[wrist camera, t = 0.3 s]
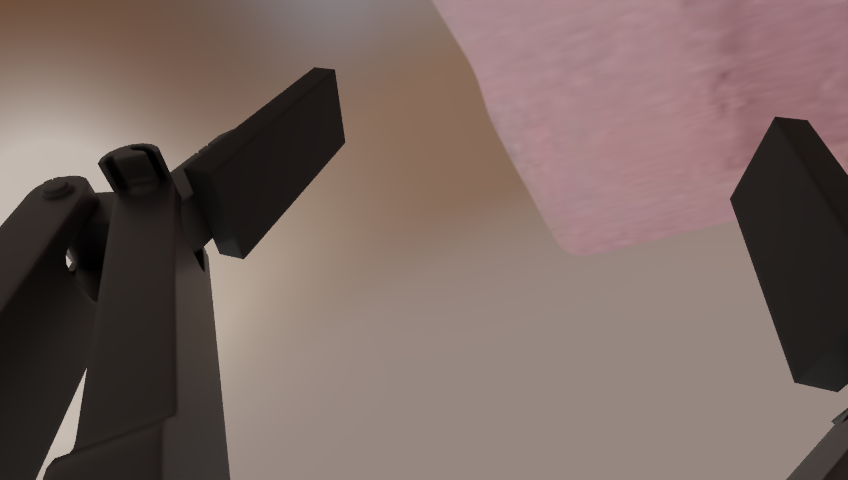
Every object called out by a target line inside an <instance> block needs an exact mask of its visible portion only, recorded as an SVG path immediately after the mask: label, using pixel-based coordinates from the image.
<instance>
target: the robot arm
mask: <svg viewBox="0 0 848 480" xmlns="http://www.w3.org/2000/svg"><path fill="white" fill-rule="evenodd" d="M344 143H345V138H344V130H343V123H342V117H341V109H340V103H339V95H338V89H337V81H336V75H335V70H334V69H324V68H315V67H314V68H313V69H312V70H310V71H309V72H308V73H307V74H305V75H304V76H303V77H301V78H300V79H299V80H297V81H296V82H295V83H293V84H292V85H291V86H290V87H288V88H287V89H286V90H284V91H283V92H282V93H281V94H279V95H278V96H277V97H275V98H274V99H273V100H271V101H270V102H269V103H268V104H266V105H265V106H264V107H262V108H261V109H260V110H258V111H257V112H256V113H255V114H253V115H252V116H251V117H249V118H248V119H247V120H245V121H244V122H243V123H242V124H240V125H239V126H238V127H237V128H235V129H233V130H230V131H228V132H226V133H223V134H221V135H219V136H218V137H217V138H215V139H214V140H213V141H211V142H210V143H209V144H208V146H205V147H203V148H202V149H201V150H199V153H195V154H194V155H193V156H191V157H190V158H189V159H187V160H186V161H185V162H184V163H182V164H181V165H180V166H178V167H177V168H176V169H174V170H173V171H172V172H169V170H168V168H167V165H166V163H165V161H164V159H163V157H162V155H161V153H160V150H159V148H158V147H157V146H154V145H152V144H143V143H142V144H132V145H128V146H124V147H121V148H118V149H116V150H113V151H111V152H109V153H108V154H106V155H105V156H103V157H102V158H101V159H100V161H99V163H98V165H99V167H100V168H101V170H102V172H103V174H104V175H105V177H106V179H107V181H108V182H109V184H110V186H111V187H112V189H113V191H114V192H103V193H95V192H94V190H93V189H92V187H91V185H90V184H89V182H88V181H87V179H86V178H84V177H81V176H67V177H57V178H54V179H53V180H52V179H50V180H48V181H46V182H44V183H43V184H42V185H40V186H38V187H36V188H35V189H33V190H32V191H31V192H30V193H29V194H28V195H27V196H26V197H25V198H24V200H23V201H22V202H21V203H20V205H19V206H18V207H17V208H16V209H15V210H14V211H13V213H12V214H11V215H10V216H9V217H8V218H7V220H6V221H5V222H4V223H3V224H2V225H1V227H0V480H36V478H37V476H38V473H39V471H40V469H41V467H42V465H43V462H44V460H45V458H46V456H47V454H48V451H49V449H50V447H51V445H52V443H53V440H54V438H55V436H56V434H57V432H58V429H59V427H60V425H61V423H62V421H63V419H64V416H65V414H66V412H67V410H68V407H69V405H70V403H71V401H72V399H73V396H74V394H75V392H76V390H77V387H78V386H79V383H80V381H81V379H82V376H83V375H84V372H85V370H86V368H87V372H86V378H85V384H84V391H83V398H82V404H81V411H80V417H79V423H78V429H77V436H76V441H75V445H74V448H73V450H72V451H71V452H70V453H69V454H66V455H63V456H61V457H58V458H55V459H54V460H53V461H52V462H51V464H50V465H49V466H48V467H47V469H46V472H45V475H44V477H43V480H230V473H229V463H228V453H227V443H226V434H225V433H226V432H225V422H224V412H223V402H222V392H221V381H220V371H219V362H218V351H217V341H216V331H215V321H214V310H213V300H212V291H211V279H210V270H209V259H208V255H207V253H206V250H205V248H204V246H205V245H206V244H207V243H208V242H209V241H210V240H211V239H212V238H213V239H214V242H215V244H216V246H217V248H218V251H219V253H220V254H223V255H227V256H231V257H237V258H241V259H244V258H245V257H246V256H247V255H248V254H249V253H250V252H251V250H252V249H253V248H254V247H255V246H256V245H257V244H258V242H259V241H260V240H261V239H262V238H263V237H264V235H265V234H266V233H267V232H268V231H269V230H270V229H271V227H272V226H273V225H274V224H275V223H276V222H277V221H278V219H279V218H280V217H281V216H282V215H283V214H284V212H285V211H286V210H287V209H288V208H289V207H290V206H291V204H292V203H293V202H294V201H295V200H296V198H298V196H299V195H300V194H301V193H302V192H303V190H304V189H305V188H306V187H307V186H308V185H309V184H310V182H311V181H312V180H313V179H314V178H315V177H316V176H317V174H318V173H319V172H320V171H321V170H322V169H323V167H324V166H325V165H326V164H327V163H328V162H329V161H330V159H331V158H332V157H333V156H334V155H335V154H336V153H337V151H338V150H339V149H340V148H341V147H342V146H343V145H344ZM730 200H731V203H732V206H733V209H734V212H735V215H736V217H737V220H738V223H739V226H740V229H741V231H742V234H743V237H744V240H745V243H746V246H747V248H748V251H749V254H750V257H751V260H752V263H753V266H754V269H755V271H756V274H757V277H758V280H759V283H760V286H761V289H762V291H763V294H764V297H765V300H766V303H767V305H768V308H769V311H770V314H771V317H772V320H773V323H774V325H775V328H776V331H777V334H778V337H779V340H780V342H781V345H782V348H783V351H784V354H785V357H786V360H787V362H788V365H789V368H790V371H791V374H792V377H793V379H794V382H795V383H799V384H804V385H808V386H813V387H817V388H821V389H826V390H830V391H835V392H839V391H840V390H841V389H842V388H843V387H845V385H847V384H848V175H847V174H846V172H845V171H844V170H843V168H842V167H841V165H840V164H839V163H838V161H837V160H836V159H835V157H834V156H833V155H832V153H831V152H830V150H829V149H828V148H827V146H826V145H825V144H824V142H823V141H822V140H821V138H820V137H819V135H818V134H817V133H816V131H815V130H814V129H813V127H812V126H811V124H810V123H809V122H808V120H800V119H791V118H782V117H775V118H774V120H773V121H772V123H771V125H770V127H769V129H768V130H767V132H766V134H765V136H764V138H763V140H762V141H761V143H760V145H759V147H758V149H757V151H756V152H755V154H754V156H753V158H752V160H751V162H750V163H749V165H748V167H747V169H746V171H745V172H744V174H743V176H742V178H741V180H740V182H739V183H738V185H737V187H736V189H735V191H734V193H733V194H732V196H731V198H730ZM66 255H67V257H68V258H69V259H70V261H71V262H72V263H71V265H70V267H69V268H68V266H67V265H66ZM831 422H833V423H834V424H835V425H834V426H833V427H832V429H831V430H830V431H829V432H828V433H827V434H826V436H825V437H824V438H823V439H822V440H821V441H820V442H819V443H818V444H817V446H816V447H815V448H814V449H813V450H812V451H811V452H810V454H809V455H808V456H807V457H806V458H805V459H804V460H803V461H802V462H801V464H800V465H799V466H798V467H797V468H796V469H795V470H794V472H793V473H792V474H791V475H790V476H789V477H788V478H787V480H848V408H847V409H846V410H845V411H843V412H842V413H841V414H840V415H838V416H837V417H836V418H835V419H833V420H832V421H831Z"/></svg>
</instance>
